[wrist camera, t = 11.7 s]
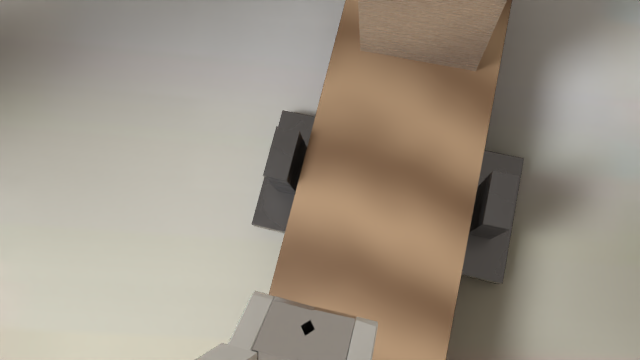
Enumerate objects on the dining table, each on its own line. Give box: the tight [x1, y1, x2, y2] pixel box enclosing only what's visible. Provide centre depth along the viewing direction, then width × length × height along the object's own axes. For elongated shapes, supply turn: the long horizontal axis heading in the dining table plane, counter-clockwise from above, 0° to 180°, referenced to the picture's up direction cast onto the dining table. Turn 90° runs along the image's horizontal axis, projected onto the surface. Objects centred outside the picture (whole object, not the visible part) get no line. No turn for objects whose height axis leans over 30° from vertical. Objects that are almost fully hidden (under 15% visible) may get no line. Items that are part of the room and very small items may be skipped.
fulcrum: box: [252, 111, 524, 284], centre depth 31 cm, size 8×16×6 cm, turn 76°
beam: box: [269, 0, 512, 360], centre depth 29 cm, size 34×10×4 cm, turn 166°
